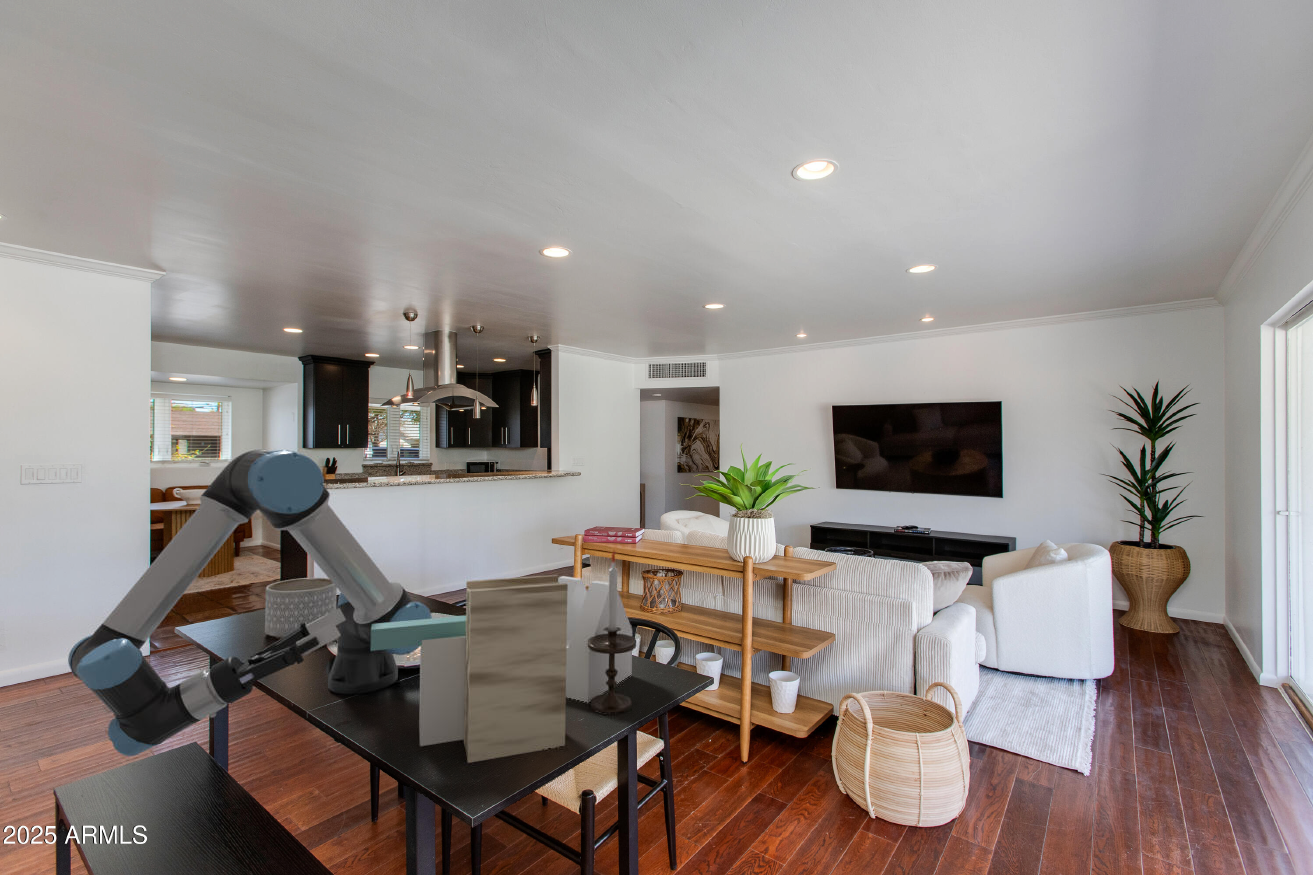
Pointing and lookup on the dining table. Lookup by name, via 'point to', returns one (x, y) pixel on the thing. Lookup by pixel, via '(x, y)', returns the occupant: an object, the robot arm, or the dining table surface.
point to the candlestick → (611, 652)
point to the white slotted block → (582, 624)
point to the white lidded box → (442, 690)
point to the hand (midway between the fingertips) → (340, 620)
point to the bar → (415, 632)
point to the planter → (297, 604)
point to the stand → (515, 666)
